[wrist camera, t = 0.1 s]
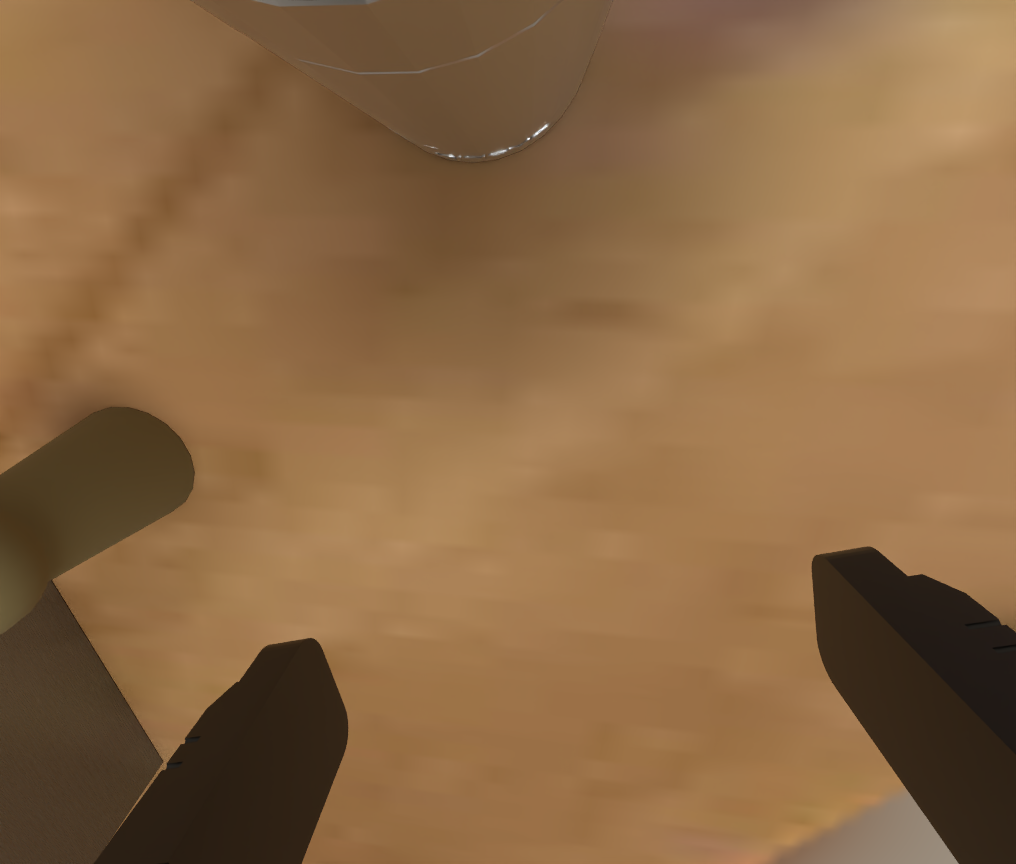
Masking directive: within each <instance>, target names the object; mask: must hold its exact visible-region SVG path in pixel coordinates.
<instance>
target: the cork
mask: <svg viewBox="0 0 1016 864" xmlns="http://www.w3.org/2000/svg"><path fill="white" fill-rule="evenodd" d="M193 481H194V468H193V464H192V460H191V456H190V454H189V452H188V450H187V449H186V447H185V445H184V444H183V442H182V440H181V439H180V438H179V437H178V436H177V435H176V434H175V433H174V432H173V431H172V430H171V429H170V428H169V426H168V425H167V424H165V423H163V422H162V421H160V420H158V419H157V418H155V417H153V416H152V415H150V414H148V413H145V412H142V411H139V410H135V409H132V408H121V407H110V408H107V409H104V410H101V411H98V412H95V413H93V414H91V415H90V416H88V417H87V418H85V419H84V420H82V421H81V422H79V423H78V424H76V425H75V426H73V427H72V428H70V429H69V430H67V431H66V432H64V433H63V434H61V435H60V436H58V437H57V438H55V439H54V440H52V441H51V442H49V443H48V444H46V445H45V446H43V447H42V448H40V449H39V450H37V451H35V452H34V453H32V454H31V455H29V456H28V457H26V458H25V459H23V460H22V461H20V462H19V463H17V464H16V465H14V466H13V467H11V468H10V469H8V470H7V471H5V472H4V473H2V474H1V475H0V635H1V634H3V633H4V632H6V631H7V630H8V629H9V628H11V627H12V626H13V625H15V624H16V623H17V622H18V621H20V620H21V619H22V618H23V617H25V616H26V615H27V614H28V613H30V612H31V611H32V609H33V608H34V607H35V605H36V604H37V603H38V601H39V600H40V599H41V597H42V595H43V593H44V591H45V589H46V586H47V583H48V582H49V581H50V580H52V579H54V578H56V577H58V576H59V575H61V574H63V573H65V572H66V571H68V570H70V569H72V568H73V567H75V566H77V565H79V564H80V563H82V562H84V561H86V560H88V559H89V558H91V557H93V556H95V555H96V554H98V553H100V552H102V551H103V550H105V549H107V548H109V547H111V546H112V545H114V544H116V543H118V542H119V541H121V540H123V539H125V538H126V537H128V536H130V535H132V534H133V533H135V532H137V531H139V530H141V529H142V528H144V527H146V526H148V525H149V524H151V523H153V522H155V521H156V520H158V519H160V518H162V517H164V516H165V515H167V514H169V513H171V512H172V511H174V510H175V509H176V508H178V507H179V506H180V505H182V504H183V503H184V502H185V501H186V500H187V498H188V496H189V494H190V492H191V491H192V489H193Z"/></svg>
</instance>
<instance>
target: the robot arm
mask: <svg viewBox="0 0 1016 864" xmlns="http://www.w3.org/2000/svg"><path fill="white" fill-rule="evenodd" d="M191 1H193V2H194V3H196V4H197V5H199V6H200V7H202V8H203V9H205V10H206V11H208V12H210V13H211V14H213V15H214V16H216V17H217V18H219V19H220V20H222V21H223V22H225V23H227V24H228V25H230V26H231V27H233V28H234V29H236V30H237V31H239V32H242V33H243V34H245V35H246V36H248V37H249V38H251V39H252V40H254V41H256V42H257V43H259V44H260V45H262V46H263V47H265V48H266V49H268V50H269V51H271V52H272V53H274V54H276V55H277V56H279V57H280V58H282V59H283V60H285V61H286V62H288V63H289V64H291V65H292V66H294V67H296V68H297V69H299V70H300V71H302V72H303V73H305V74H306V75H308V76H309V77H311V78H312V79H314V80H315V81H317V82H319V83H320V84H322V85H323V86H325V87H326V88H328V89H329V90H331V91H332V92H334V93H335V94H337V95H339V96H340V97H342V98H343V99H345V100H346V101H348V102H349V103H351V104H352V105H354V106H355V107H357V108H358V109H360V110H362V111H363V112H365V113H366V114H368V115H369V116H371V117H372V118H374V119H375V120H377V121H378V122H380V123H382V124H383V125H385V126H386V127H388V128H389V129H390V130H392V131H393V132H395V133H397V134H398V135H400V136H402V137H403V138H405V139H407V140H408V141H410V142H411V143H413V144H415V145H416V146H418V147H419V148H421V149H423V150H424V151H426V152H428V153H431V154H434V155H437V156H440V157H443V158H446V159H448V160H455V161H464V162H482V161H489V160H497V159H500V158H503V157H505V156H508V155H511V154H513V153H516V152H519V151H521V150H523V149H524V148H526V147H527V146H529V145H530V144H532V143H533V142H535V141H536V140H538V139H539V138H541V137H542V136H543V135H544V134H545V133H546V132H547V131H548V130H549V129H550V128H551V127H552V126H553V125H554V124H555V123H556V122H557V121H558V120H559V119H560V118H561V117H562V115H563V114H564V112H565V111H566V109H567V107H568V106H569V104H570V103H571V101H572V100H573V98H574V97H575V95H576V94H577V91H578V89H579V86H580V84H581V81H582V79H583V77H584V74H585V72H586V69H587V67H588V64H589V61H590V59H591V57H592V54H593V52H594V50H595V47H596V45H597V42H598V39H599V36H600V34H601V31H602V28H603V26H604V23H605V20H606V18H607V15H608V12H609V10H610V7H611V4H612V2H613V0H191ZM812 580H813V593H814V606H815V620H816V633H817V643H818V648H819V652H820V655H821V658H822V661H823V664H824V667H825V669H826V671H827V673H828V675H829V677H830V679H831V681H832V683H833V684H834V686H835V687H836V689H837V690H838V692H839V693H840V694H841V696H842V697H843V699H844V700H845V702H846V703H847V704H848V706H849V707H850V709H851V710H852V712H853V713H854V714H855V716H856V717H857V719H858V720H859V722H860V723H861V724H862V726H863V727H864V729H865V730H866V732H867V733H868V734H869V736H870V737H871V739H872V740H873V742H874V743H875V744H876V746H877V747H878V749H879V750H880V752H881V753H882V754H883V756H884V757H885V759H886V760H887V762H888V763H889V764H890V766H891V767H892V769H893V770H894V772H895V773H896V774H897V776H898V777H899V779H900V780H901V782H902V783H903V784H904V786H905V787H906V789H907V790H908V792H909V793H910V794H911V796H912V797H913V799H914V800H915V802H916V803H917V804H918V806H919V807H920V809H921V810H922V812H923V813H924V814H925V816H926V817H927V819H928V820H929V822H930V823H931V824H932V826H933V827H934V829H935V830H936V831H937V833H938V834H939V836H940V837H941V838H942V840H943V841H944V843H945V844H946V846H947V847H948V849H949V850H950V851H951V853H952V854H953V856H954V857H955V859H956V860H957V862H958V863H959V864H1016V632H1015V631H1013V630H1012V629H1011V628H1010V627H1008V626H1007V625H1001V623H1000V621H999V619H998V618H997V617H995V616H994V615H993V614H992V613H990V612H989V611H988V610H986V609H985V608H984V607H983V606H981V605H980V604H979V603H977V602H976V601H975V600H974V599H972V598H971V597H970V596H968V595H967V594H966V593H964V592H962V591H959V590H957V589H955V588H952V587H950V586H948V585H946V584H943V583H941V582H939V581H937V580H934V579H932V578H930V577H927V576H925V575H923V574H920V575H914V576H907V575H906V574H904V573H903V572H902V571H901V570H900V569H899V568H897V567H896V566H895V565H894V564H893V563H892V562H890V561H889V560H888V559H887V558H886V557H885V556H883V555H882V554H881V553H880V552H879V551H877V550H876V549H875V548H872V547H862V548H856V549H850V550H844V551H838V552H832V553H826V554H820V555H816V556H815V557H814V558H813V561H812ZM347 739H348V718H347V713H346V709H345V706H344V704H343V701H342V699H341V696H340V693H339V691H338V688H337V686H336V683H335V681H334V678H333V675H332V673H331V670H330V668H329V665H328V663H327V660H326V658H325V655H324V652H323V650H322V648H321V646H320V644H319V643H318V642H317V641H316V640H315V639H313V638H308V639H302V640H296V641H290V642H284V643H278V644H272V645H268V646H266V647H264V648H263V649H262V650H261V652H260V653H259V654H258V656H257V657H256V659H255V660H254V661H253V663H252V664H251V666H250V667H249V668H248V670H247V671H246V673H245V674H244V676H243V677H242V678H241V680H240V681H239V682H236V683H235V684H234V685H233V686H232V687H231V688H229V689H228V690H227V691H226V692H225V693H224V694H223V695H222V696H221V697H219V698H218V699H217V700H216V701H215V702H214V703H213V704H212V705H210V706H209V707H208V708H207V709H206V711H205V712H204V713H203V715H202V716H201V717H200V719H199V720H198V722H197V723H196V724H195V726H194V727H193V728H192V730H191V731H190V732H189V734H188V735H187V737H186V738H185V740H186V741H185V744H181V745H180V746H179V748H178V749H177V750H176V752H175V753H174V754H173V756H172V757H171V758H170V760H169V761H168V763H167V768H166V770H162V771H161V772H160V773H159V775H158V776H157V778H156V779H155V780H154V782H153V783H152V784H151V786H150V787H149V788H148V790H147V791H146V793H145V794H144V795H143V797H142V798H141V799H140V801H139V802H138V804H137V805H136V806H135V808H134V809H133V810H132V812H131V813H130V814H129V816H128V817H127V819H126V820H125V821H124V823H123V824H122V825H121V827H120V828H119V829H118V831H117V832H116V834H115V835H114V836H113V838H112V839H111V840H110V842H109V843H108V845H107V846H106V847H105V849H104V850H103V851H102V853H101V854H100V855H99V857H98V858H97V860H96V861H95V862H94V864H301V863H302V861H303V858H304V856H305V853H306V851H307V848H308V845H309V843H310V840H311V838H312V835H313V833H314V830H315V827H316V825H317V822H318V820H319V817H320V814H321V812H322V809H323V807H324V804H325V802H326V799H327V796H328V794H329V791H330V789H331V786H332V784H333V781H334V778H335V776H336V773H337V771H338V768H339V765H340V763H341V760H342V758H343V755H344V752H345V749H346V745H347Z"/></svg>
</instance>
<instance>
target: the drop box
mask: <svg viewBox="0 0 1016 864" xmlns="http://www.w3.org/2000/svg"><path fill="white" fill-rule="evenodd" d="M162 763H163V761H162V760H161V758H160V756H159V755H158V753H157V752H156V750H155V748H154V747H153V745H152V743H151V742H150V740H149V739H148V737H147V735H146V734H145V732H144V730H143V729H142V727H141V726H140V724H139V722H138V721H137V719H136V717H135V716H134V714H133V713H132V711H131V709H130V708H129V706H128V704H127V703H126V701H125V700H124V698H123V696H122V695H121V693H120V691H119V690H118V688H117V687H116V685H115V683H114V682H113V680H112V678H111V677H110V675H109V674H108V672H107V670H106V669H105V667H104V665H103V664H102V662H101V661H100V659H99V657H98V656H97V654H96V652H95V651H94V649H93V648H92V646H91V644H90V643H89V641H88V639H87V638H86V636H85V635H84V633H83V631H82V630H81V628H80V626H79V625H78V623H77V622H76V620H75V618H74V617H73V615H72V613H71V612H70V610H69V608H68V607H67V605H66V604H65V602H64V600H63V599H62V597H61V595H60V594H59V592H58V591H57V589H56V587H55V586H54V584H53V582H52V581H51V580H50V581H49V582H48V583H47V586H46V589H45V591H44V593H43V595H42V597H41V599H40V600H39V601H38V603H37V604H36V605H35V607H34V608H33V609H32V611H31V612H30V613H28V614H27V615H26V616H25V617H23V618H22V619H21V620H20V621H18V622H17V623H16V624H15V625H13V626H12V627H11V628H9V629H8V630H7V631H6V632H4V633H3V634H1V635H0V864H94V862H95V861H96V860H97V858H98V857H99V855H100V854H101V853H102V851H103V850H104V848H105V847H106V845H107V844H108V843H109V841H110V840H111V838H112V837H113V835H114V834H115V832H116V831H117V829H118V828H119V826H120V825H121V823H122V822H123V820H124V819H125V817H126V816H127V815H128V813H129V812H130V810H131V809H132V807H133V806H134V804H135V803H136V801H137V800H138V798H139V797H140V795H141V794H142V792H143V791H144V789H145V788H146V787H147V785H148V784H149V782H150V781H151V779H152V778H153V776H154V775H155V773H156V772H157V770H158V769H159V767H160V766H161V764H162Z"/></svg>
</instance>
